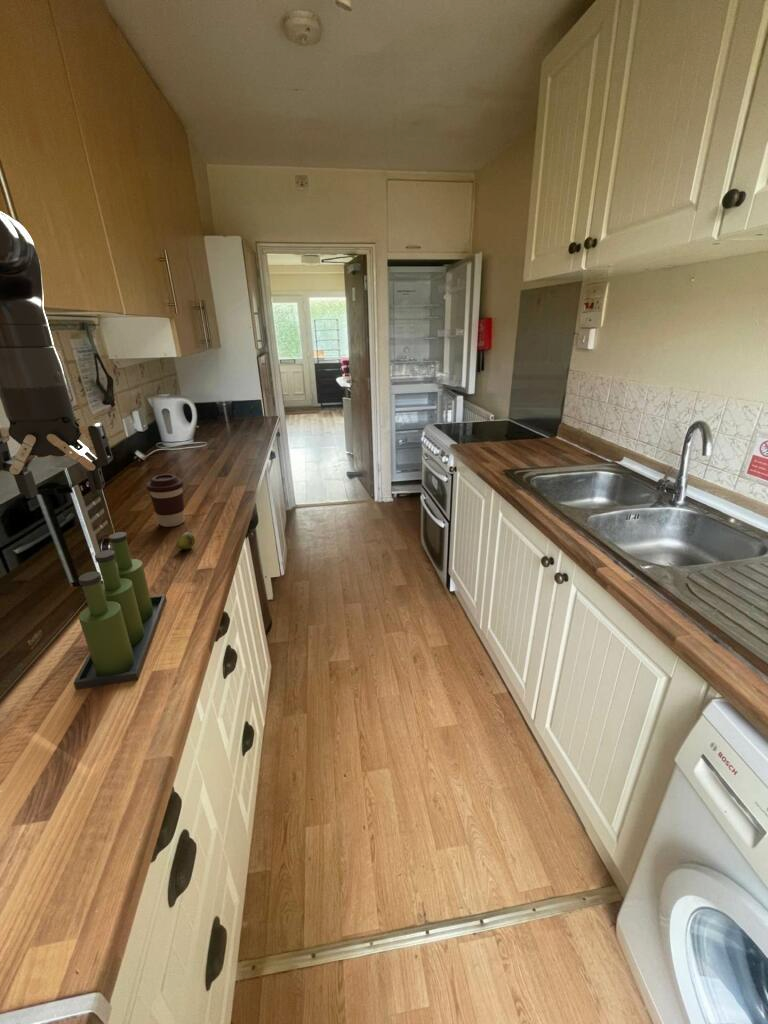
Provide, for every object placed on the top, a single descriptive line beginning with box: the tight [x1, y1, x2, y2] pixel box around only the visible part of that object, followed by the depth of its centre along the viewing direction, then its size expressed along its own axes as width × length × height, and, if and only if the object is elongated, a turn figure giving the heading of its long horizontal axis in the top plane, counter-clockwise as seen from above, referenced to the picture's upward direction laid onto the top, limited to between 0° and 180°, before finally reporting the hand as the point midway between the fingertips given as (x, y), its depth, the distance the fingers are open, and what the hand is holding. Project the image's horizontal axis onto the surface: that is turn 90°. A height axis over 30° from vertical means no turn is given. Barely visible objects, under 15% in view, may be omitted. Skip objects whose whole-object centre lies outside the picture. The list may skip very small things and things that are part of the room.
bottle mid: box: [94, 549, 145, 646], centre depth 80 cm, size 6×6×19 cm
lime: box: [176, 531, 196, 551], centre depth 118 cm, size 4×5×5 cm
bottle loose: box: [78, 570, 135, 677], centre depth 73 cm, size 6×6×19 cm
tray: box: [73, 594, 168, 691], centre depth 84 cm, size 24×10×2 cm, turn 14°
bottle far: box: [108, 531, 154, 622], centre depth 87 cm, size 6×6×19 cm
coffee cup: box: [146, 473, 186, 528], centre depth 131 cm, size 10×10×15 cm
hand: (65, 494), depth 64 cm, fingers open, 8 cm apart
